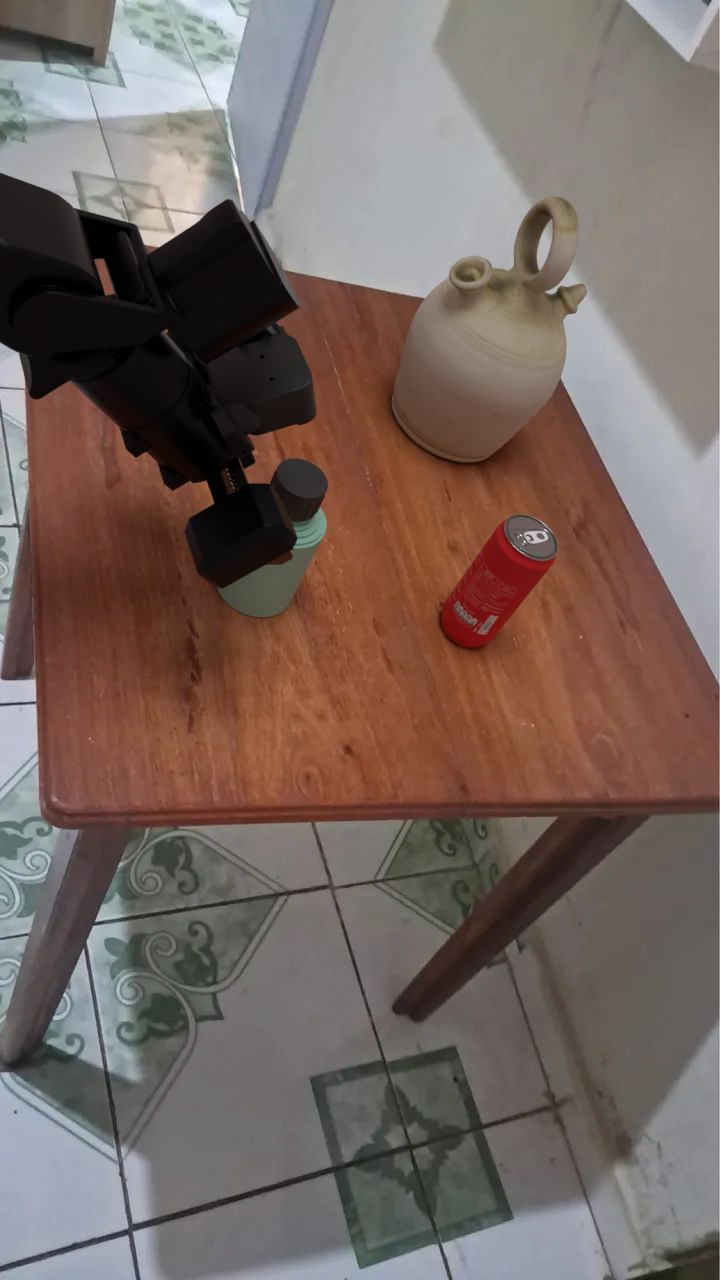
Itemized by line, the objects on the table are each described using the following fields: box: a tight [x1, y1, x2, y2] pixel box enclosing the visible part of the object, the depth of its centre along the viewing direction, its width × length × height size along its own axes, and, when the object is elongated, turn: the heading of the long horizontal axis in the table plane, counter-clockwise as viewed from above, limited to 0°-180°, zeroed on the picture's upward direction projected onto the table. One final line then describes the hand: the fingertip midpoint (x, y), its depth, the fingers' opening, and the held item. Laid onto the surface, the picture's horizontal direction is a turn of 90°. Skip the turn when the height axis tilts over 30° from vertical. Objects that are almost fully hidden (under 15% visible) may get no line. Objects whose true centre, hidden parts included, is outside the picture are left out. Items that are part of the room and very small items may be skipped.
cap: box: [269, 457, 329, 522], centre depth 68 cm, size 4×4×2 cm
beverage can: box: [440, 513, 559, 649], centre depth 78 cm, size 5×5×12 cm
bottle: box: [216, 482, 328, 619], centre depth 72 cm, size 6×6×12 cm
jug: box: [391, 195, 588, 464], centre depth 90 cm, size 15×16×25 cm
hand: (267, 510), depth 69 cm, fingers open, 9 cm apart
